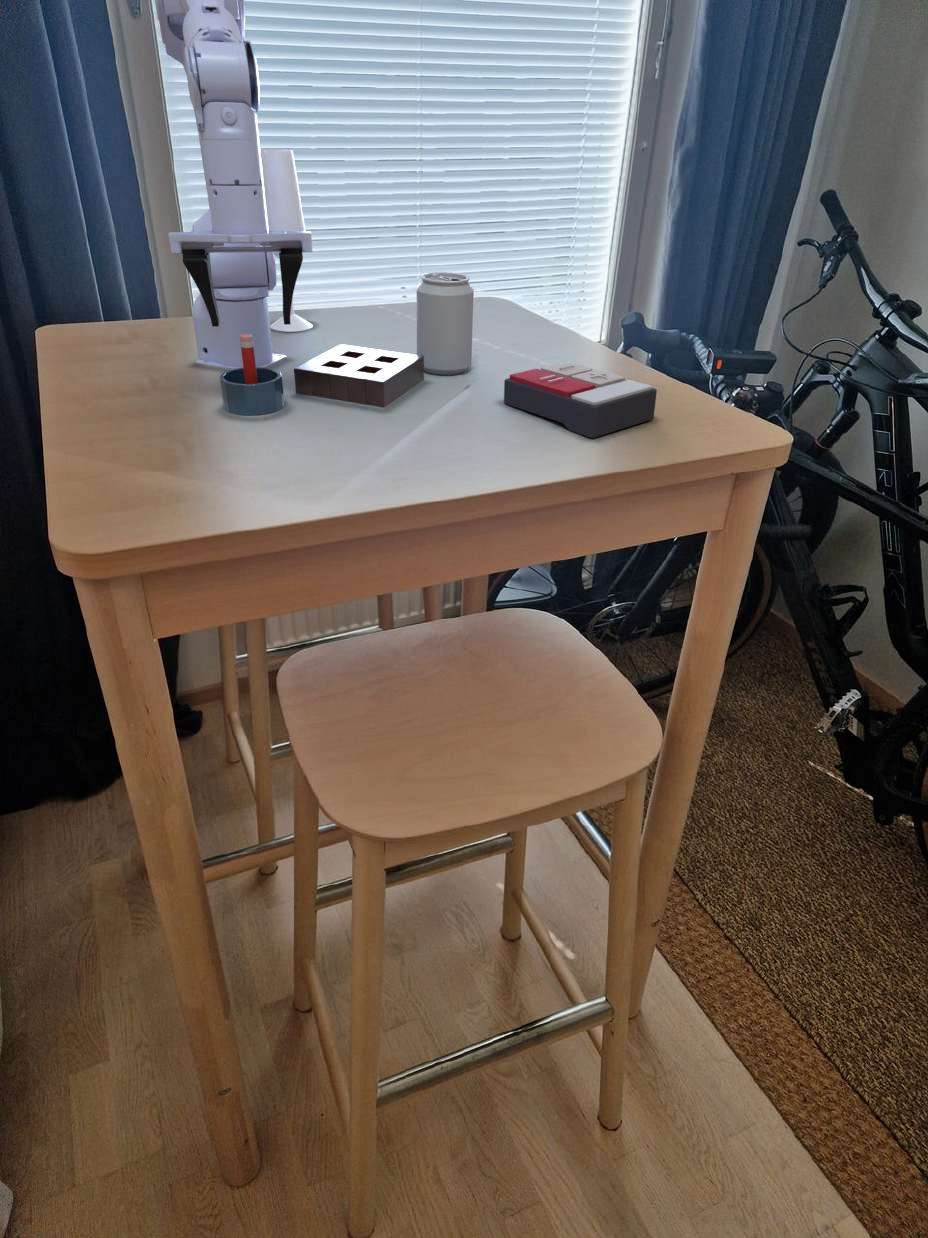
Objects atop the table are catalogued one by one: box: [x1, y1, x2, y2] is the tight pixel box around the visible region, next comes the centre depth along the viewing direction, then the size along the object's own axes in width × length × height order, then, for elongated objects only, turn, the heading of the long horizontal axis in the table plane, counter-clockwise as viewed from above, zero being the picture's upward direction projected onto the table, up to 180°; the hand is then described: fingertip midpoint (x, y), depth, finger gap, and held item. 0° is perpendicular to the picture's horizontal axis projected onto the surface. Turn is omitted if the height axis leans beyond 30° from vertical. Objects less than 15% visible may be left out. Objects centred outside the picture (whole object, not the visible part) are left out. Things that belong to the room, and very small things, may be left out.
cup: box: [219, 367, 285, 417], centre depth 93 cm, size 7×7×4 cm
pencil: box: [240, 334, 258, 384], centre depth 92 cm, size 1×1×8 cm
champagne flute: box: [259, 148, 314, 333], centre depth 119 cm, size 7×7×24 cm
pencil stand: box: [293, 343, 425, 409], centre depth 100 cm, size 12×12×4 cm
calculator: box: [503, 361, 658, 439], centre depth 96 cm, size 11×4×15 cm
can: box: [416, 271, 475, 376], centre depth 106 cm, size 8×8×12 cm
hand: (251, 323), depth 89 cm, fingers open, 7 cm apart
